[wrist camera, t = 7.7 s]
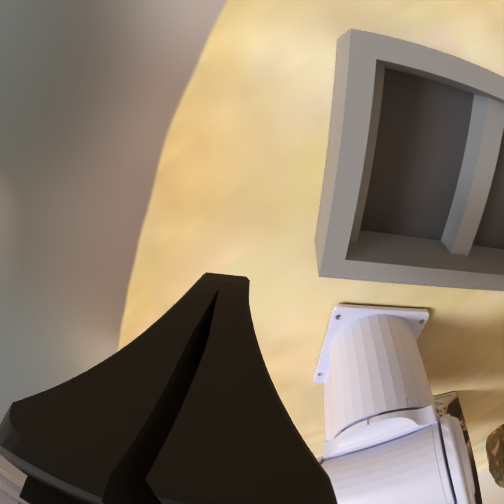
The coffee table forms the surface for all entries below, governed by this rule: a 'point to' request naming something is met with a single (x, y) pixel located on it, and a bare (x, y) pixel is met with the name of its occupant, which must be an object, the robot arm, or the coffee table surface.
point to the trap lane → (412, 168)
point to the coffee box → (452, 406)
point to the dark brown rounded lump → (496, 455)
